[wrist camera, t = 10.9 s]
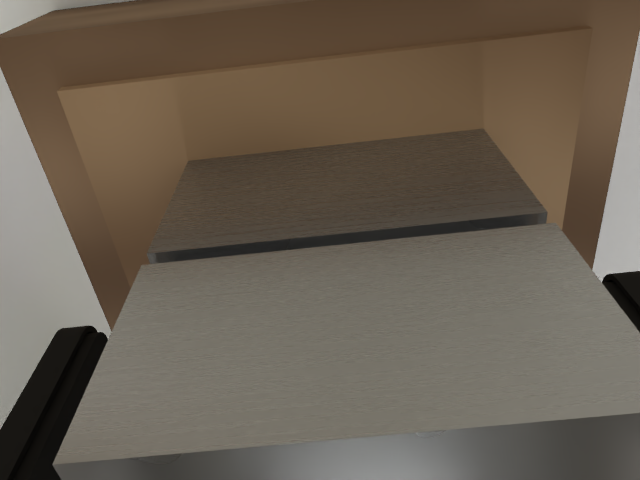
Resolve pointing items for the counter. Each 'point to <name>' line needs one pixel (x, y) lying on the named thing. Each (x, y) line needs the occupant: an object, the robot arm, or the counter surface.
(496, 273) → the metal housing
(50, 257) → the counter surface
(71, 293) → the counter surface
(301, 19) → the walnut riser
